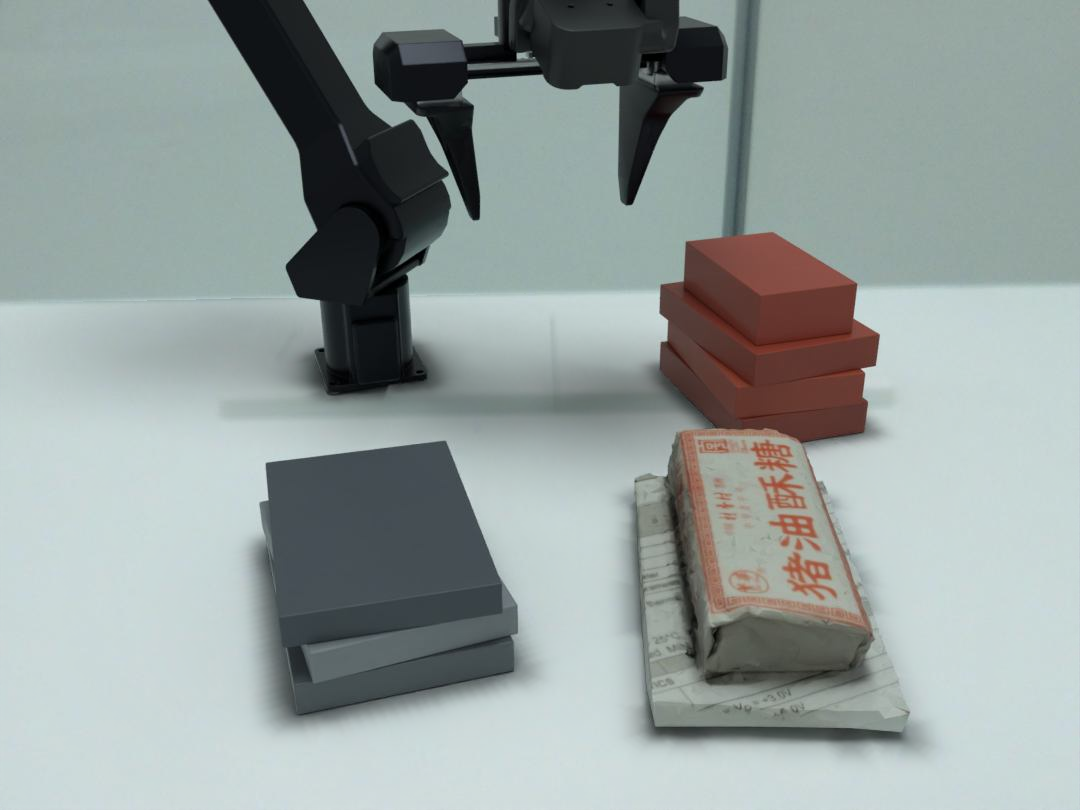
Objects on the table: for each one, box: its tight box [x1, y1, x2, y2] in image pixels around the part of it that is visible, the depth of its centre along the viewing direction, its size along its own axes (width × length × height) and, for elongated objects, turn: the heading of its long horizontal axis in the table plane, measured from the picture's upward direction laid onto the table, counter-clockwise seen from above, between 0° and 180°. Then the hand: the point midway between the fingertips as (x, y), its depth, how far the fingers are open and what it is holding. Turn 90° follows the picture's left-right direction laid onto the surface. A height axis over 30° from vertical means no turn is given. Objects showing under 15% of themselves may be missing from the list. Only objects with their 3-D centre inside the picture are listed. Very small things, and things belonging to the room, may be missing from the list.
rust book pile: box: [658, 280, 881, 443], centre depth 70 cm, size 13×9×6 cm
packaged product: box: [633, 428, 911, 733], centre depth 51 cm, size 18×5×10 cm
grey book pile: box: [258, 440, 519, 716], centre depth 52 cm, size 13×10×4 cm
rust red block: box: [683, 231, 858, 346], centre depth 68 cm, size 10×6×3 cm, turn 17°
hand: (551, 211), depth 66 cm, fingers open, 9 cm apart
